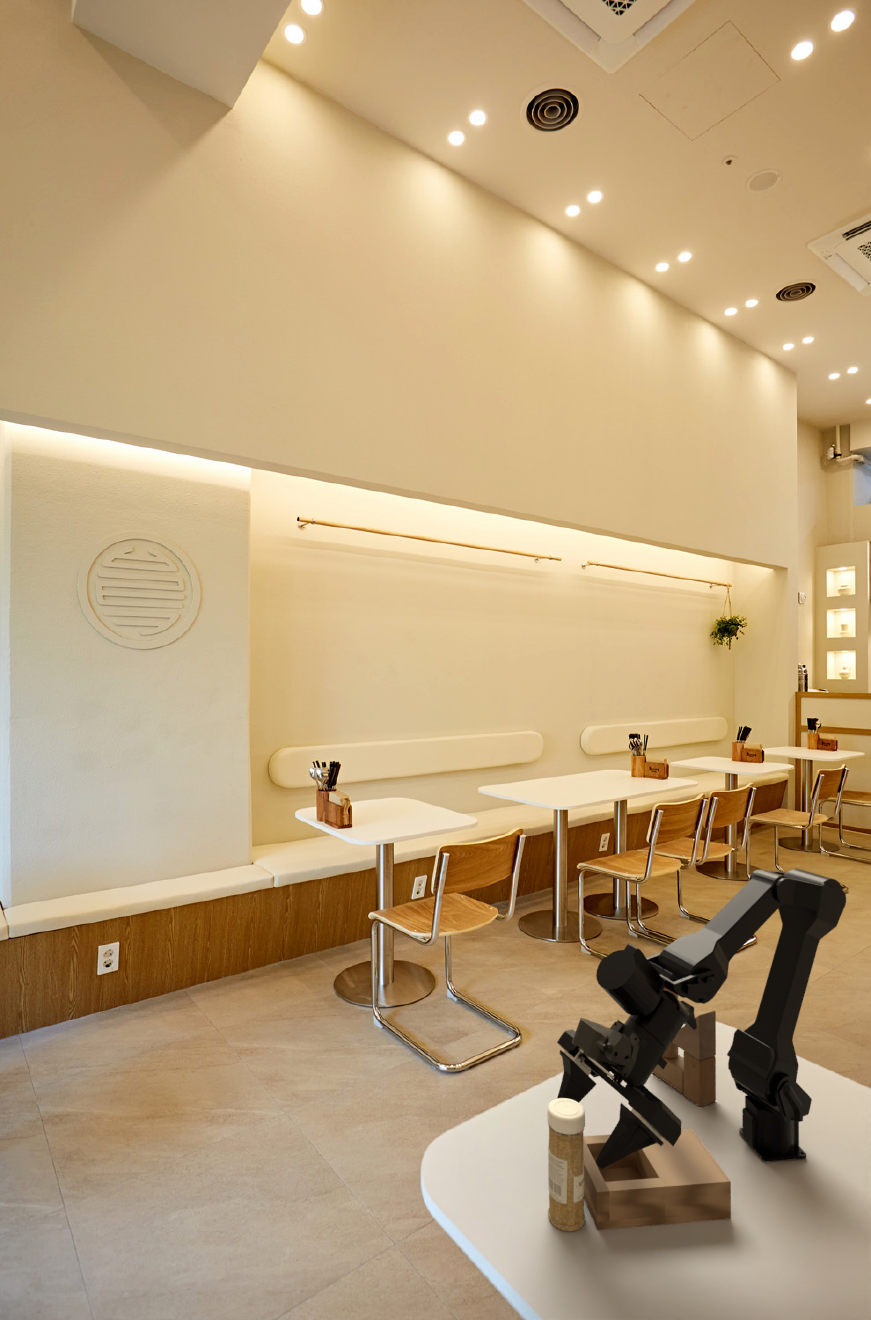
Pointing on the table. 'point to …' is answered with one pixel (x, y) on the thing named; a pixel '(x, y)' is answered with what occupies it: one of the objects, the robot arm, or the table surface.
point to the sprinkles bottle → (566, 1164)
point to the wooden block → (693, 1060)
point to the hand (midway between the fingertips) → (575, 1142)
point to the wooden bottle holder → (655, 1185)
